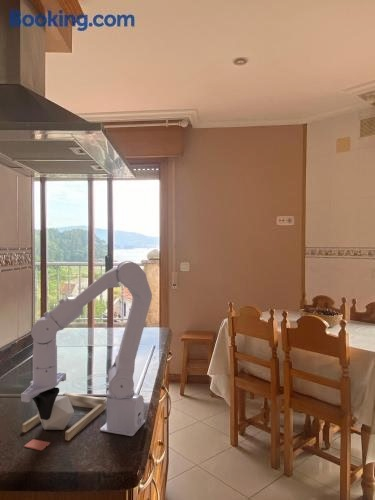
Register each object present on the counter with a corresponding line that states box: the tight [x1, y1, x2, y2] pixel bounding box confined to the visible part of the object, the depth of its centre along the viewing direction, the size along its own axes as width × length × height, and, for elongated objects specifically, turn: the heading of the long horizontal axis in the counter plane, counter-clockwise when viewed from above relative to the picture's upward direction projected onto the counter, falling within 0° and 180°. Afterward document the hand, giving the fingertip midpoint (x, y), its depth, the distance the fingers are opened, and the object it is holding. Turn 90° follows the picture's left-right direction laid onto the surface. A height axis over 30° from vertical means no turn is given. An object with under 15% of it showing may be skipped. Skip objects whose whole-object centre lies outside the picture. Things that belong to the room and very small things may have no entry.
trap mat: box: [23, 438, 51, 451], centre depth 86 cm, size 5×3×1 cm, turn 73°
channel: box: [21, 392, 107, 441], centre depth 98 cm, size 14×18×3 cm
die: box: [36, 395, 75, 431], centre depth 94 cm, size 8×9×10 cm
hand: (45, 418), depth 90 cm, fingers closed
